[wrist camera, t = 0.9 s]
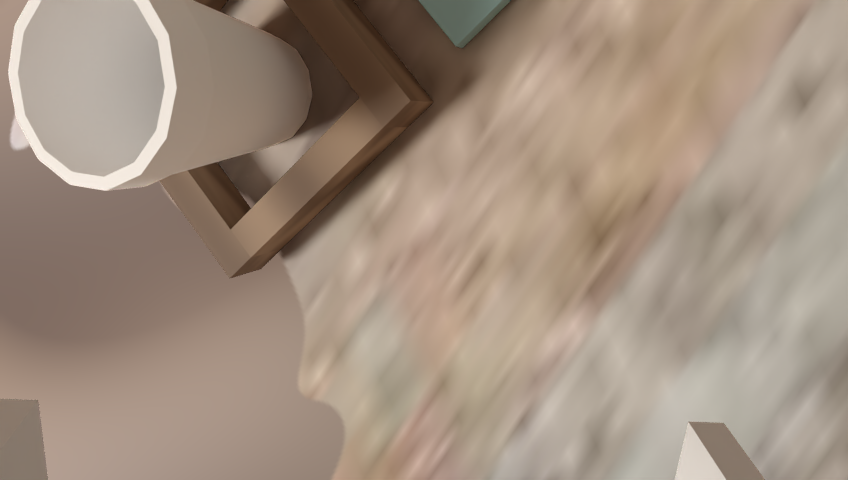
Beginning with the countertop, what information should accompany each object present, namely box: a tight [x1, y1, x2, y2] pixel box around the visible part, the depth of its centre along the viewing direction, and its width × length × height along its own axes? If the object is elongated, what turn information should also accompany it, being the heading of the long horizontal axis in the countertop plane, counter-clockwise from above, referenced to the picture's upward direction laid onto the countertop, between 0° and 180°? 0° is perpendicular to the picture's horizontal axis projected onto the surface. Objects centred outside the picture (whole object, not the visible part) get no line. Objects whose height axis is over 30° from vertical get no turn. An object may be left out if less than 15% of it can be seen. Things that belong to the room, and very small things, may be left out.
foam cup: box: [8, 0, 312, 191], centre depth 38 cm, size 10×9×13 cm
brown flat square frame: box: [159, 0, 433, 278], centre depth 43 cm, size 15×15×3 cm
